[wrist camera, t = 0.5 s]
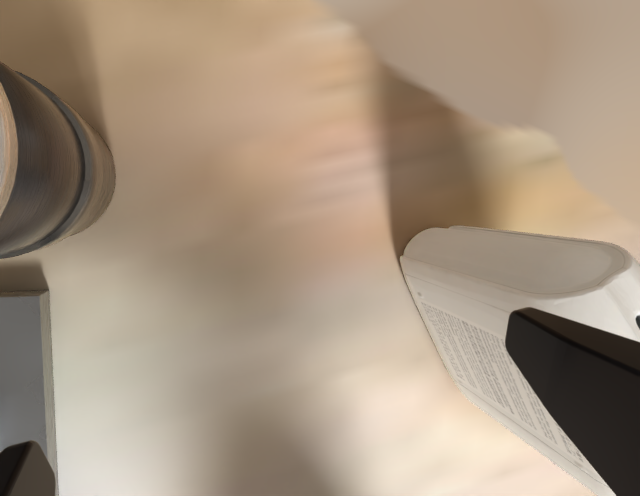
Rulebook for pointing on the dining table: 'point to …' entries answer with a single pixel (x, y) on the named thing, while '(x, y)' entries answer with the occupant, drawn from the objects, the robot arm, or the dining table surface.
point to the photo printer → (512, 294)
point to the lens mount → (27, 373)
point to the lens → (47, 168)
